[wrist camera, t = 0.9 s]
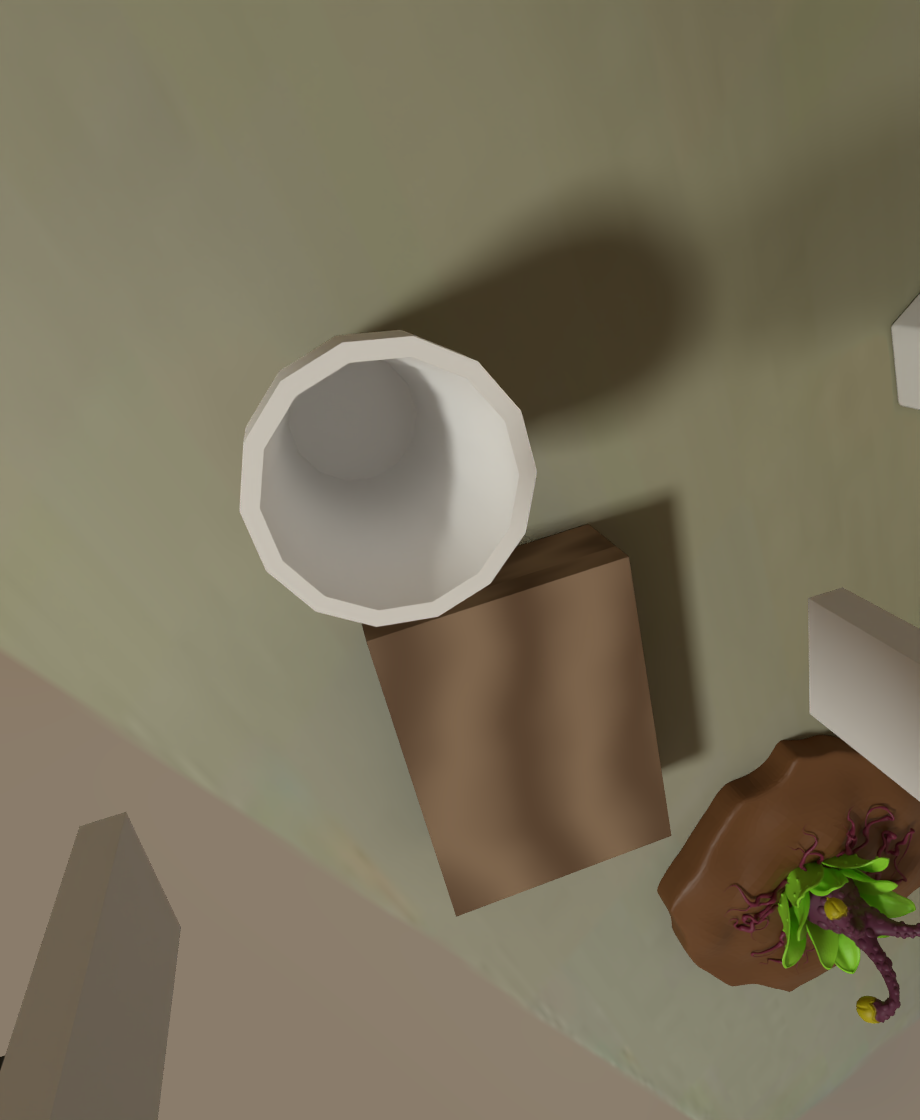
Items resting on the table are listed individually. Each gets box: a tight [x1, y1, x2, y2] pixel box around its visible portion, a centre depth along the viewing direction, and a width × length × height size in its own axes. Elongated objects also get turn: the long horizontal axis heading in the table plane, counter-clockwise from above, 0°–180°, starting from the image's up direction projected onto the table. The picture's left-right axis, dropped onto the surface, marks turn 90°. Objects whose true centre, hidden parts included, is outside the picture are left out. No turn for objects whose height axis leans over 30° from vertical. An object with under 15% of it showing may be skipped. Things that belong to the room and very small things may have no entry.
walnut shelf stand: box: [362, 524, 671, 916], centre depth 41 cm, size 13×18×5 cm
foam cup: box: [240, 330, 537, 627], centre depth 30 cm, size 10×9×13 cm
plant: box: [657, 735, 920, 1023], centre depth 49 cm, size 20×20×11 cm
